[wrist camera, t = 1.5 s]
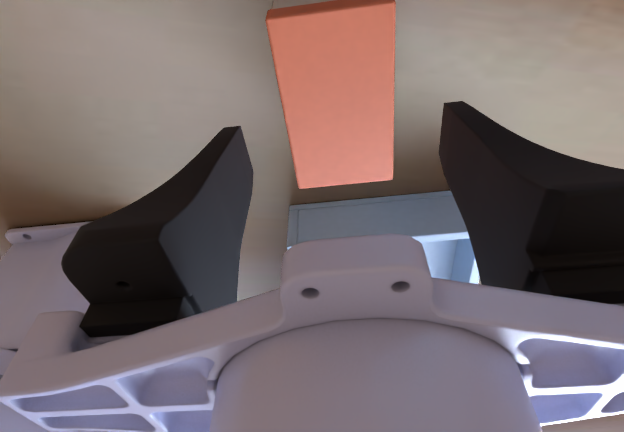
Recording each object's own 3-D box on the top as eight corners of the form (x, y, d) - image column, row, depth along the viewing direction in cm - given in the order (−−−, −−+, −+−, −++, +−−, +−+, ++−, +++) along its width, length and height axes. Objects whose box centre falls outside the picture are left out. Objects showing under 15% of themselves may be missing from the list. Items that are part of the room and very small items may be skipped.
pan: (320, 343, 37) (320, 380, 34) (289, 205, 25) (286, 246, 23) (444, 335, 36) (454, 373, 33) (473, 188, 24) (492, 229, 22)
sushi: (300, 140, 22) (298, 189, 19) (273, -16, 17) (264, 18, 14) (382, 131, 21) (393, 180, 18) (380, -31, 16) (396, 0, 13)
